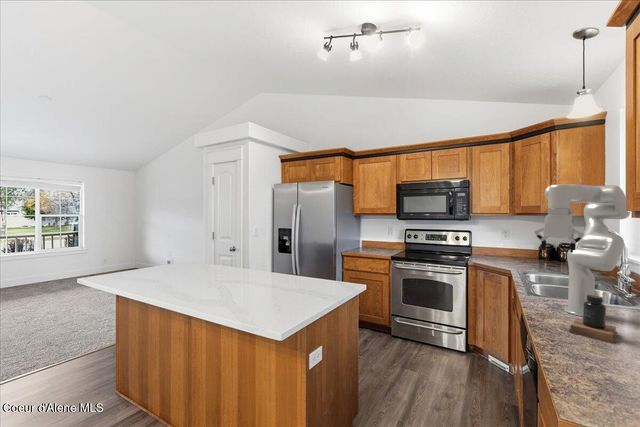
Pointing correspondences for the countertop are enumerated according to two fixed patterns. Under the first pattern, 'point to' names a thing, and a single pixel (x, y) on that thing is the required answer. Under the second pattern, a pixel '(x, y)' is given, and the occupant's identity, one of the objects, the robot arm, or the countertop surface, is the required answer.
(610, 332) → the walnut pedestal
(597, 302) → the supplement bottle
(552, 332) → the countertop surface
